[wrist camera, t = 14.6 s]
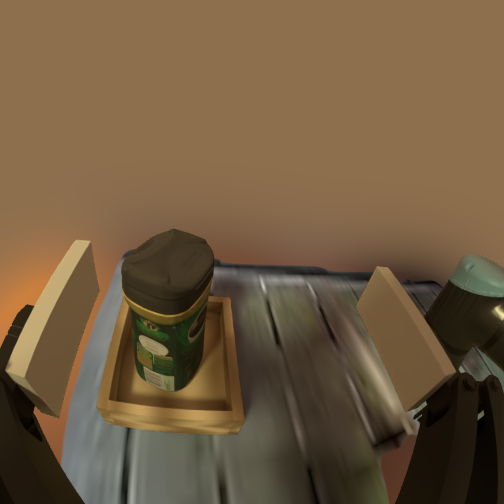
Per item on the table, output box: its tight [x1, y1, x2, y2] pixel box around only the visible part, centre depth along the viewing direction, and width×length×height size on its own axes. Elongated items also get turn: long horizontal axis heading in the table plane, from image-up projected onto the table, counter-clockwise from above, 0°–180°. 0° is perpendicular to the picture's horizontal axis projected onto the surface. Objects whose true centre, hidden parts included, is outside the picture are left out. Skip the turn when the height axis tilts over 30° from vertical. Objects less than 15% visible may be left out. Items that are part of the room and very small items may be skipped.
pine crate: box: [97, 296, 245, 434], centre depth 33 cm, size 16×20×5 cm
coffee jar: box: [121, 229, 214, 392], centre depth 29 cm, size 10×8×19 cm
